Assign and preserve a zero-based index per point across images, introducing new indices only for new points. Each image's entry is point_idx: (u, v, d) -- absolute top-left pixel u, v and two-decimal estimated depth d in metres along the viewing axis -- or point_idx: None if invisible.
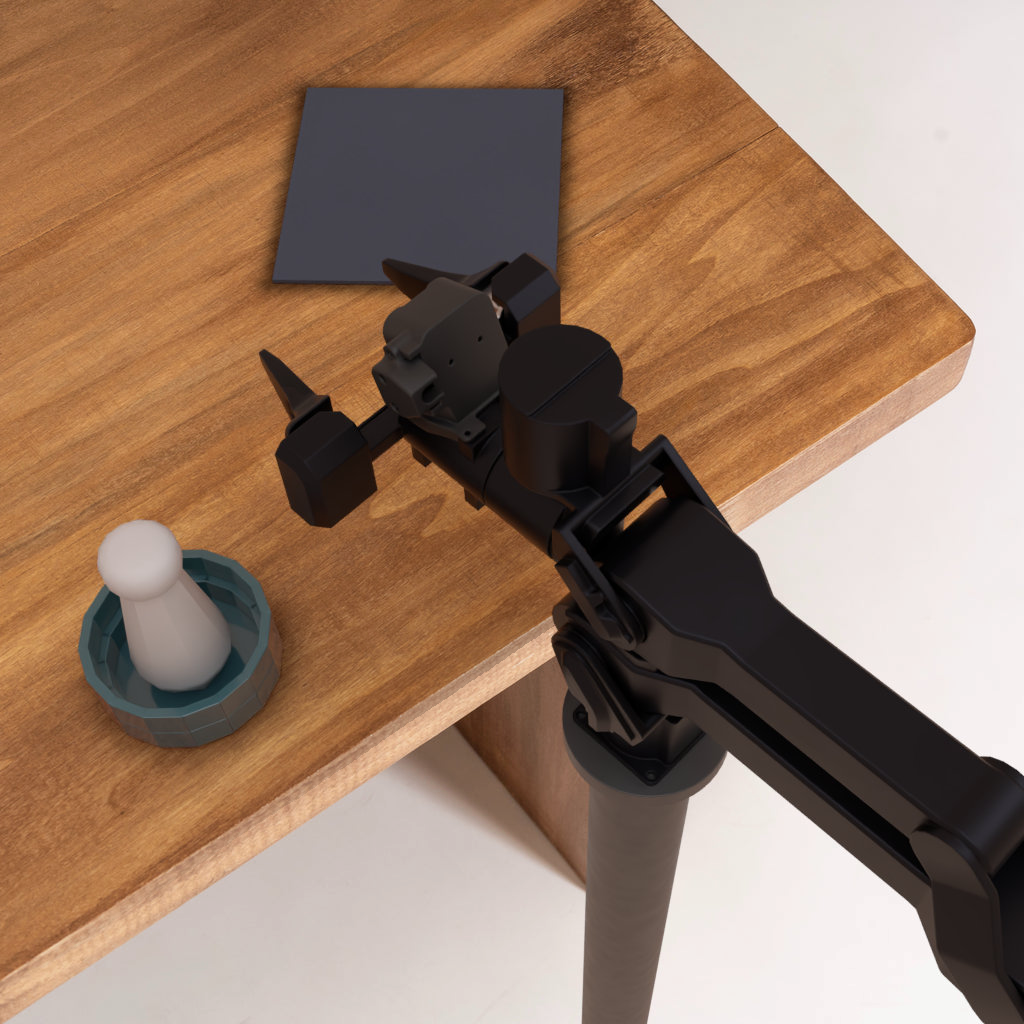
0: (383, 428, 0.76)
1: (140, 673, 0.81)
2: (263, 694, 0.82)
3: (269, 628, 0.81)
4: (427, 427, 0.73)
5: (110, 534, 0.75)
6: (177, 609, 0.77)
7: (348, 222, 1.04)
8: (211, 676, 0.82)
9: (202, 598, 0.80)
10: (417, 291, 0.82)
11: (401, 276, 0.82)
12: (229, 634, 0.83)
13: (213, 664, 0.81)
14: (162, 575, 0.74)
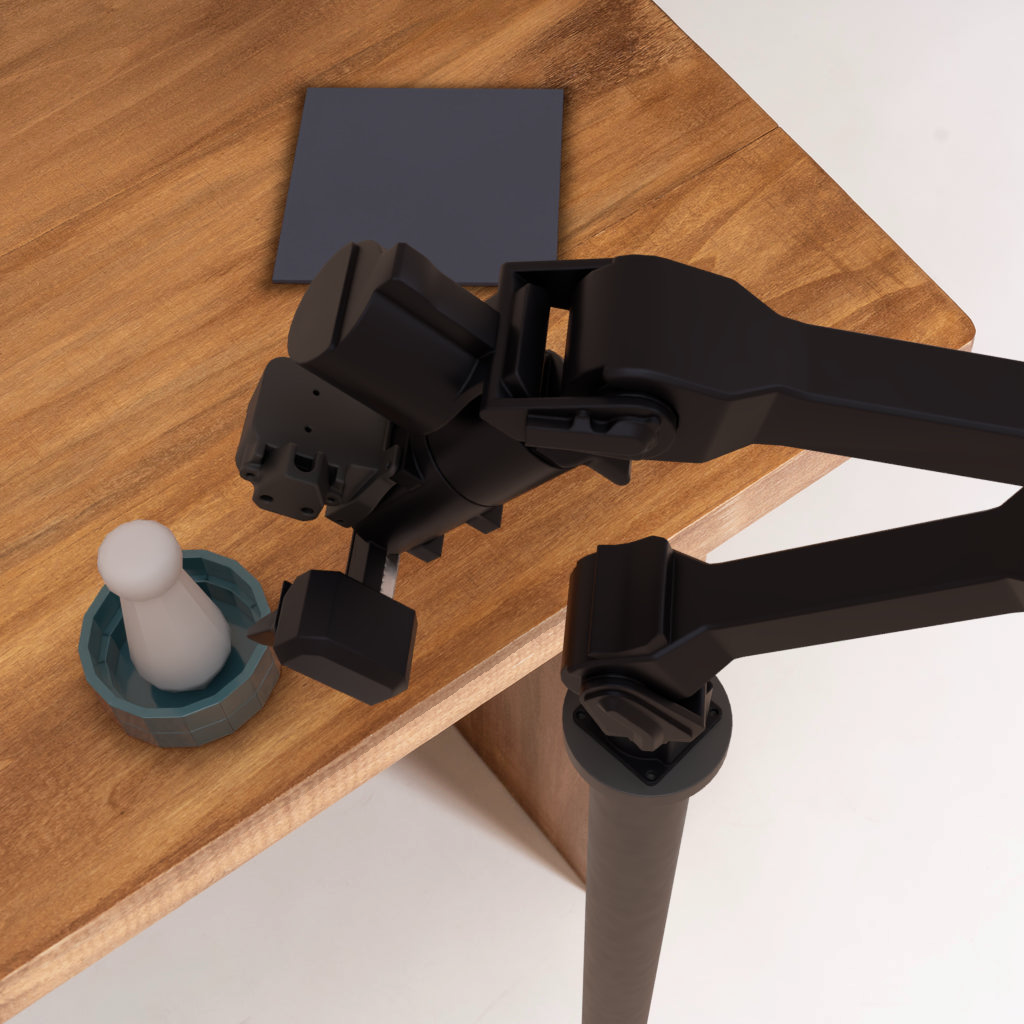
0: (360, 559, 0.65)
1: (140, 673, 0.81)
2: (263, 694, 0.82)
3: None
4: (366, 504, 0.63)
5: (110, 534, 0.75)
6: (177, 609, 0.77)
7: (348, 222, 1.04)
8: (211, 676, 0.82)
9: (202, 598, 0.80)
10: None
11: None
12: (229, 634, 0.83)
13: (213, 664, 0.81)
14: (162, 575, 0.74)
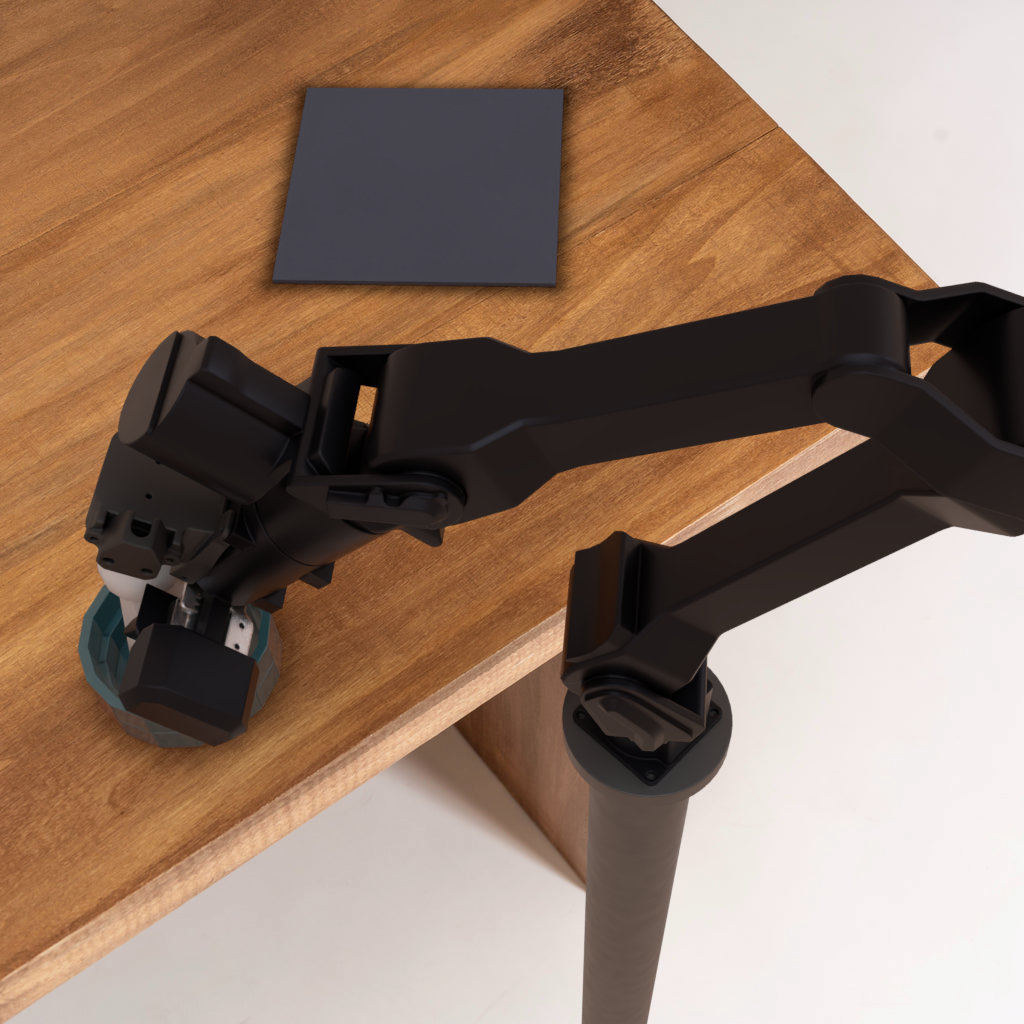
0: (205, 611, 0.71)
1: None
2: (263, 694, 0.82)
3: (269, 628, 0.81)
4: (204, 564, 0.69)
5: None
6: None
7: (348, 222, 1.04)
8: None
9: None
10: None
11: None
12: None
13: None
14: (162, 576, 0.74)
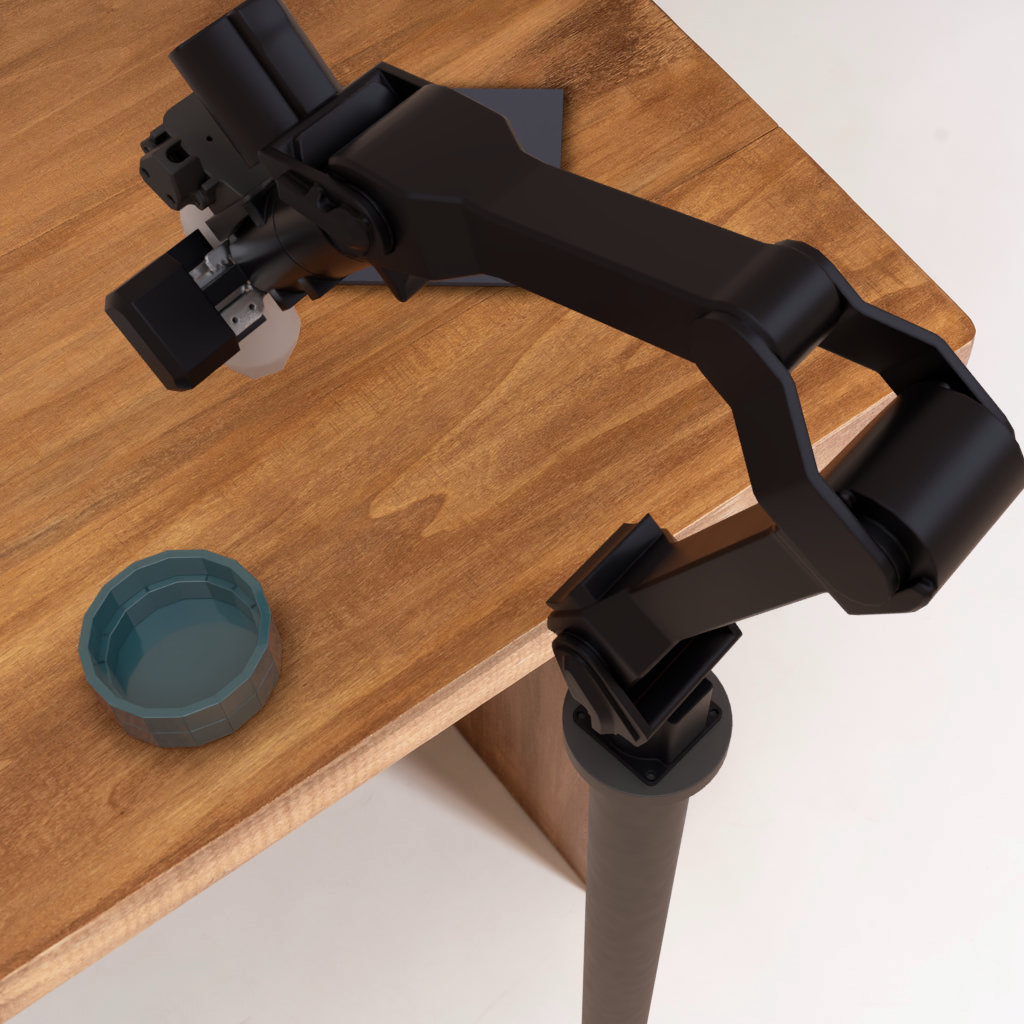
0: (222, 273, 0.75)
1: None
2: (263, 694, 0.82)
3: (269, 628, 0.81)
4: (226, 223, 0.72)
5: None
6: None
7: None
8: (255, 367, 0.86)
9: None
10: None
11: None
12: (291, 341, 0.86)
13: (258, 355, 0.85)
14: None
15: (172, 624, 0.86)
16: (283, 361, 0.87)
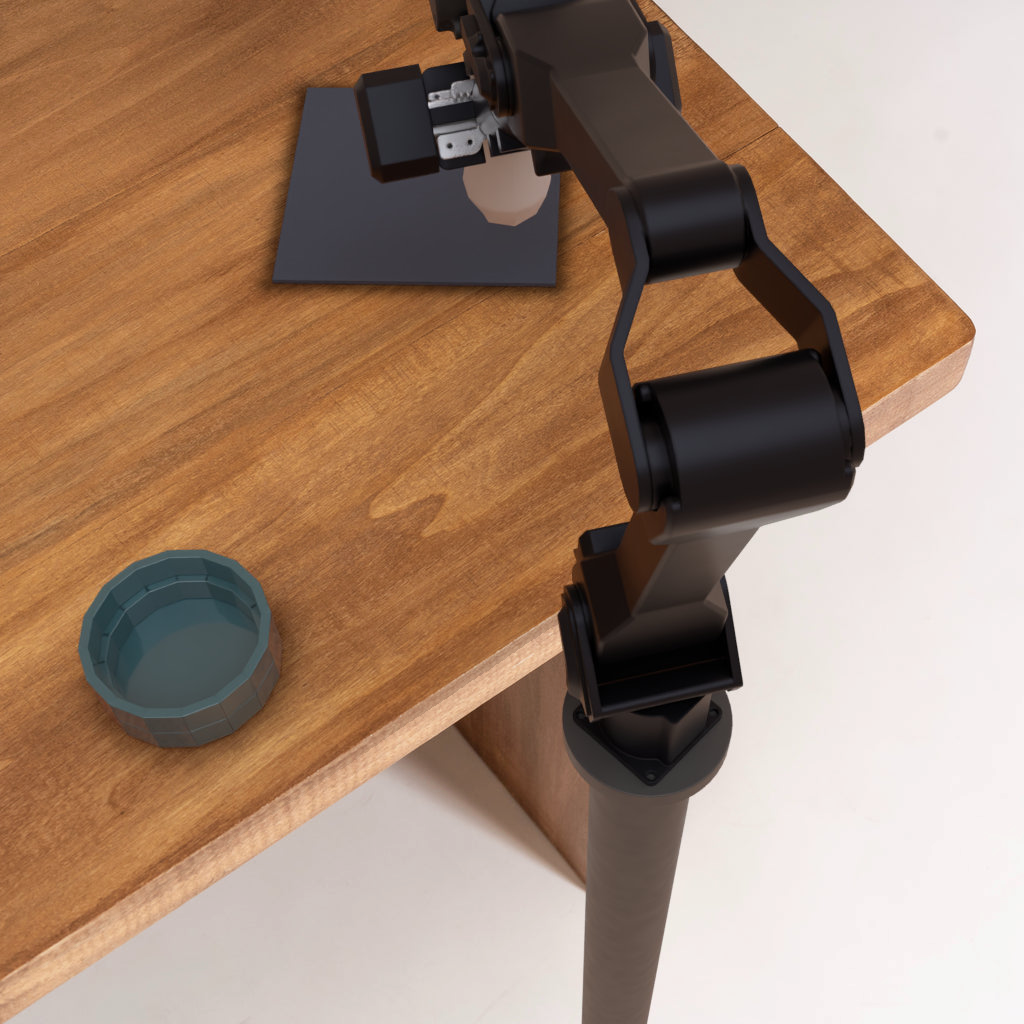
0: None
1: None
2: (263, 694, 0.82)
3: (269, 628, 0.81)
4: (468, 58, 0.80)
5: None
6: None
7: (348, 222, 1.04)
8: (487, 209, 0.94)
9: None
10: None
11: None
12: (526, 202, 0.94)
13: (492, 200, 0.93)
14: None
15: (172, 624, 0.86)
16: (514, 217, 0.95)
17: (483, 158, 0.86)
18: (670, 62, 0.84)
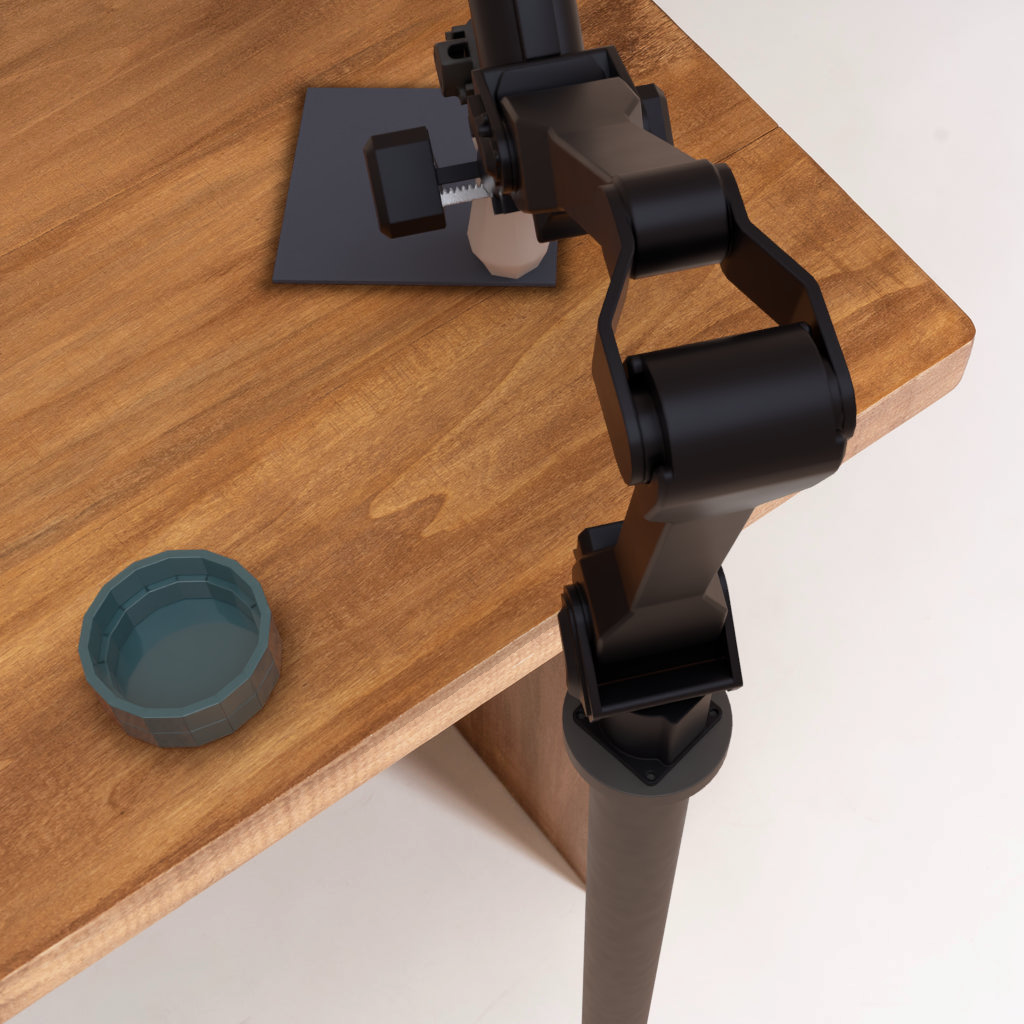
0: None
1: None
2: (263, 694, 0.82)
3: (269, 628, 0.81)
4: None
5: None
6: None
7: (348, 222, 1.04)
8: (490, 264, 0.98)
9: None
10: None
11: None
12: (528, 258, 0.98)
13: (495, 256, 0.98)
14: None
15: (172, 624, 0.86)
16: (516, 271, 0.99)
17: None
18: (666, 123, 0.88)
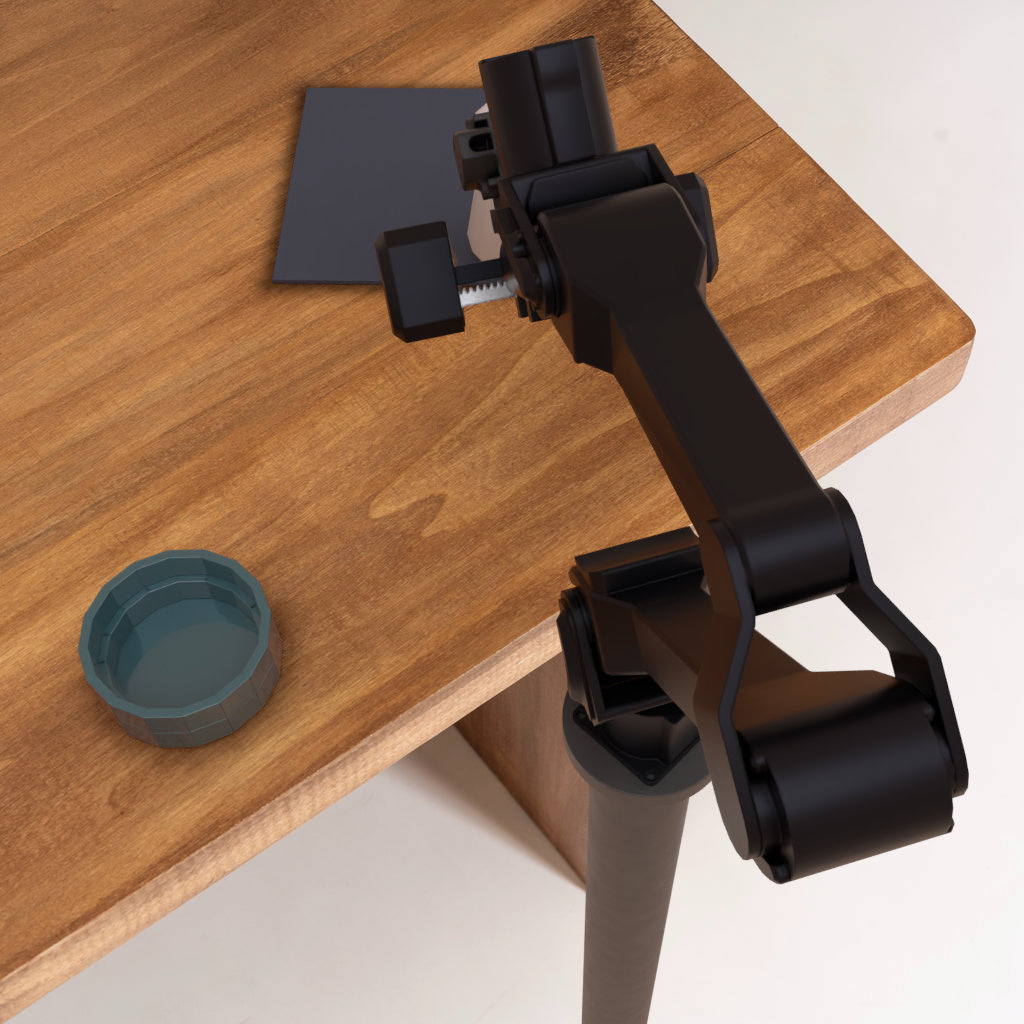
0: None
1: None
2: (263, 694, 0.82)
3: (269, 628, 0.81)
4: None
5: None
6: None
7: (348, 222, 1.04)
8: None
9: None
10: None
11: None
12: None
13: (495, 255, 0.98)
14: None
15: (172, 624, 0.86)
16: None
17: None
18: (707, 217, 0.80)
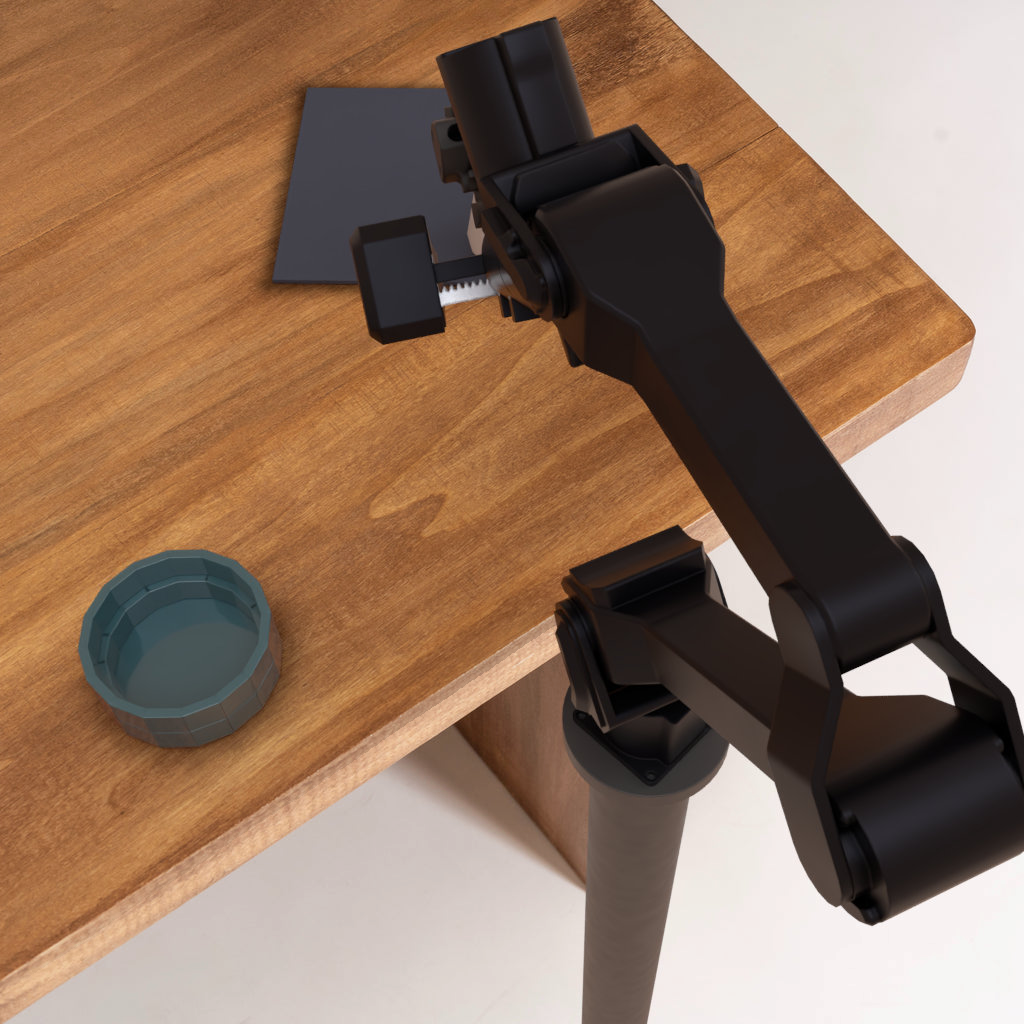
0: (466, 257, 0.75)
1: None
2: (263, 694, 0.82)
3: (269, 628, 0.81)
4: (478, 214, 0.72)
5: None
6: None
7: (348, 222, 1.04)
8: None
9: None
10: None
11: None
12: None
13: None
14: None
15: (172, 624, 0.86)
16: None
17: None
18: None
